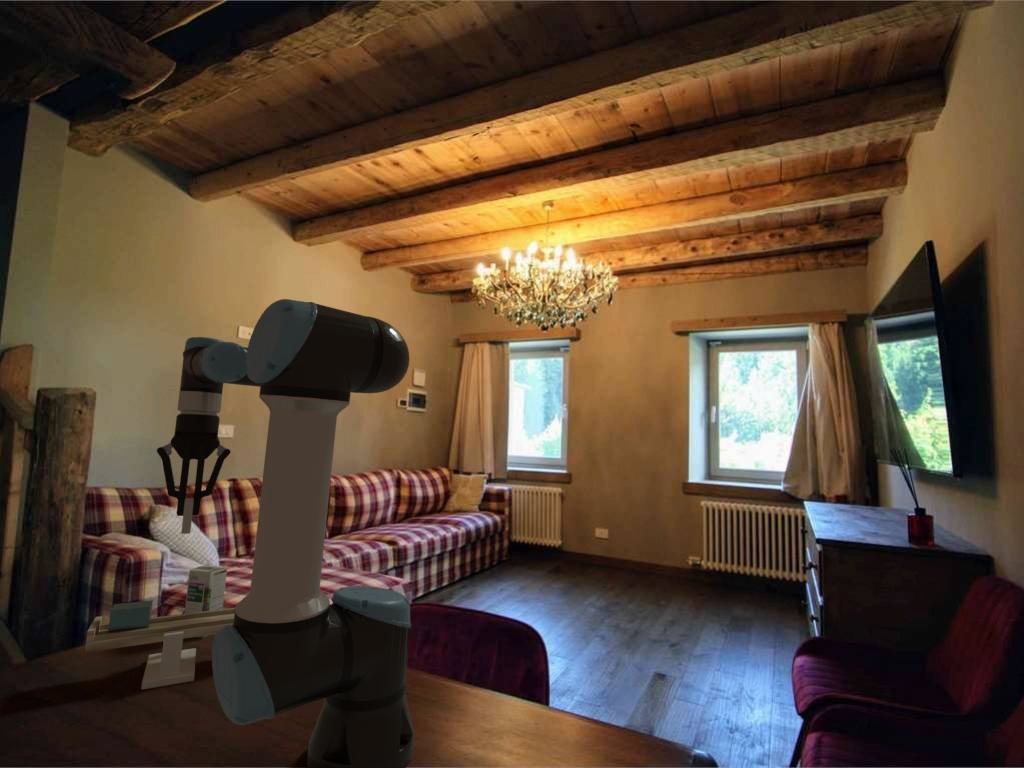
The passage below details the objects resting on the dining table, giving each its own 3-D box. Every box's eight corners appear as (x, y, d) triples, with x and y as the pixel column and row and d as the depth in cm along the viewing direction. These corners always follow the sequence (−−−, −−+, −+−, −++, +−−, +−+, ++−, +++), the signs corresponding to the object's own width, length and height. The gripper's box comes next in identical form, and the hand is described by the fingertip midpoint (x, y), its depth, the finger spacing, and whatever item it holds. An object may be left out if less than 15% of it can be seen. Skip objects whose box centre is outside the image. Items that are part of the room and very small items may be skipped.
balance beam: (249, 645, 102) (252, 611, 103) (82, 671, 89) (86, 632, 89) (246, 630, 109) (249, 598, 110) (92, 652, 96) (96, 616, 97)
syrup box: (180, 636, 115) (187, 569, 117) (200, 626, 121) (207, 563, 122) (202, 638, 114) (209, 571, 116) (221, 629, 120) (228, 565, 121)
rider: (147, 631, 96) (150, 606, 96) (107, 636, 93) (110, 610, 93) (150, 624, 99) (152, 600, 100) (111, 629, 96) (114, 604, 97)
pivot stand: (193, 680, 95) (198, 632, 96) (141, 689, 91) (147, 639, 92) (195, 654, 106) (199, 611, 107) (148, 660, 102) (153, 616, 103)
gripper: (234, 416, 111) (222, 527, 108) (161, 412, 104) (147, 530, 101) (235, 415, 104) (223, 534, 101) (158, 411, 98) (143, 537, 95)
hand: (185, 532), depth 101 cm, fingers closed
